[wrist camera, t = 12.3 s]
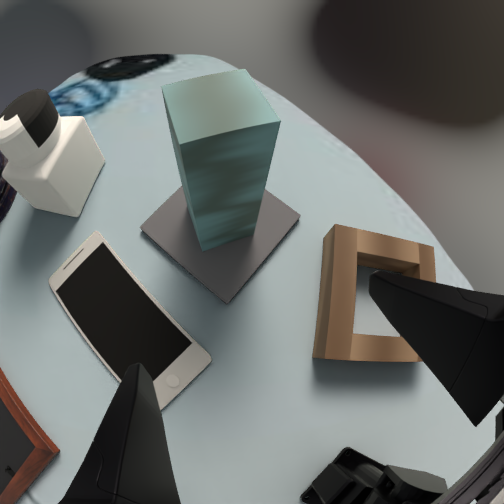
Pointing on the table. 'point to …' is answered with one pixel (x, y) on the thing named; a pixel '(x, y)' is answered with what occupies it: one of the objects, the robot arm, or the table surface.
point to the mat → (225, 256)
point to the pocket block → (344, 291)
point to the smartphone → (125, 319)
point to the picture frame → (20, 445)
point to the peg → (221, 151)
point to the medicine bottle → (48, 154)
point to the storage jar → (5, 190)
